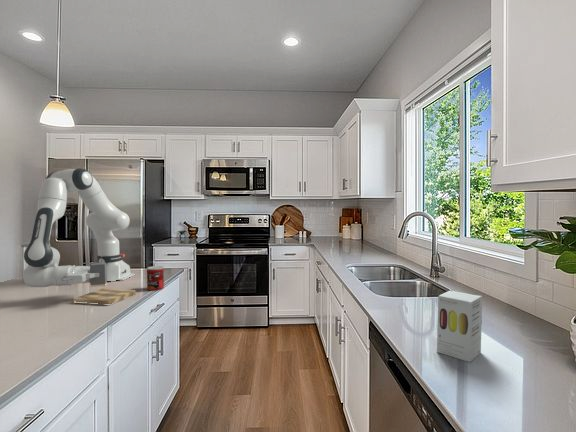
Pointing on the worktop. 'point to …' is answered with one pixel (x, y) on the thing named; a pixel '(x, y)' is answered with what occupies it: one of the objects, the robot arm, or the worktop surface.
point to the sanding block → (103, 274)
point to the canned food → (155, 278)
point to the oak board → (105, 296)
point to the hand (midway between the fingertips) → (100, 273)
